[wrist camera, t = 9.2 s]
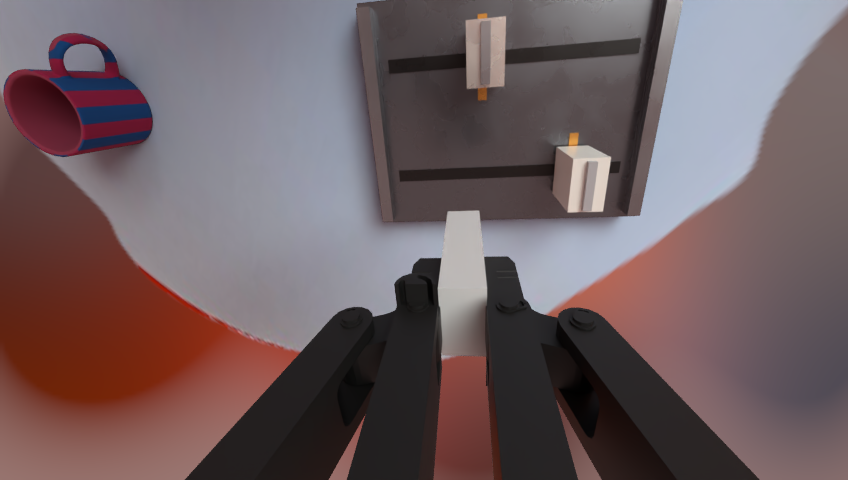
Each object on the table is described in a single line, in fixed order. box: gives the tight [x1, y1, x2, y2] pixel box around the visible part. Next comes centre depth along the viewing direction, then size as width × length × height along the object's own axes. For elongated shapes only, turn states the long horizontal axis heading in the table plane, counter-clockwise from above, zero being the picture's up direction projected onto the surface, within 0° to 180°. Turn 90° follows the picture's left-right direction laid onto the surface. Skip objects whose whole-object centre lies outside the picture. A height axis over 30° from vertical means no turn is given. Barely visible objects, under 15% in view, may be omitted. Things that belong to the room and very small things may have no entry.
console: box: [356, 0, 683, 222], centre depth 27 cm, size 18×23×7 cm
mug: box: [3, 33, 152, 157], centre depth 30 cm, size 7×10×7 cm
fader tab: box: [552, 145, 611, 212], centre depth 27 cm, size 4×2×5 cm, turn 4°
